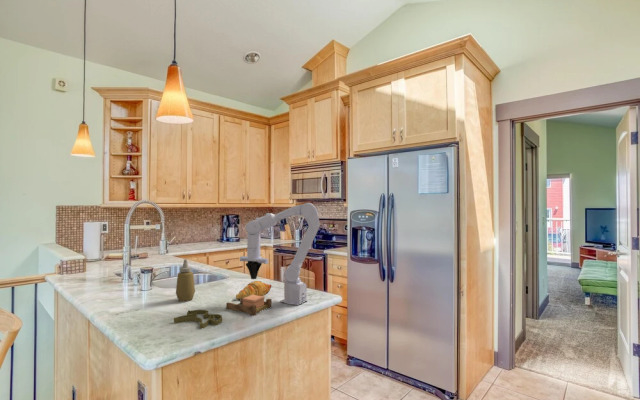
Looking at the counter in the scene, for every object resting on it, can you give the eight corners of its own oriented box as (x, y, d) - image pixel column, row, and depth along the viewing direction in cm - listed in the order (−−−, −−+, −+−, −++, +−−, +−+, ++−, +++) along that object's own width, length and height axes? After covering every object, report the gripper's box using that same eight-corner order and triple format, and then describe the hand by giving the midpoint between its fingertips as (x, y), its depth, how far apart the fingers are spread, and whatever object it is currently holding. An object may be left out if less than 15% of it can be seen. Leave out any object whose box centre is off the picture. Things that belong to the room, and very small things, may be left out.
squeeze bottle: (188, 303, 145) (188, 261, 145) (171, 302, 146) (171, 260, 146) (198, 298, 153) (198, 258, 153) (182, 297, 154) (182, 257, 154)
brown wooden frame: (271, 307, 139) (271, 299, 139) (253, 315, 129) (253, 306, 129) (242, 302, 146) (242, 294, 146) (223, 309, 136) (223, 300, 136)
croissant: (240, 309, 147) (246, 295, 145) (227, 295, 152) (232, 281, 150) (274, 297, 164) (279, 284, 162) (261, 285, 170) (266, 272, 167)
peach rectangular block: (264, 307, 137) (264, 296, 137) (254, 311, 132) (254, 300, 132) (252, 305, 140) (252, 294, 140) (242, 309, 135) (242, 298, 135)
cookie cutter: (169, 323, 122) (169, 317, 122) (194, 313, 133) (194, 308, 133) (206, 331, 115) (206, 325, 115) (230, 319, 125) (230, 314, 125)
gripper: (272, 247, 148) (272, 278, 148) (247, 245, 155) (247, 275, 155) (262, 249, 141) (262, 282, 141) (236, 247, 148) (236, 278, 148)
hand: (253, 278), depth 148 cm, fingers closed
